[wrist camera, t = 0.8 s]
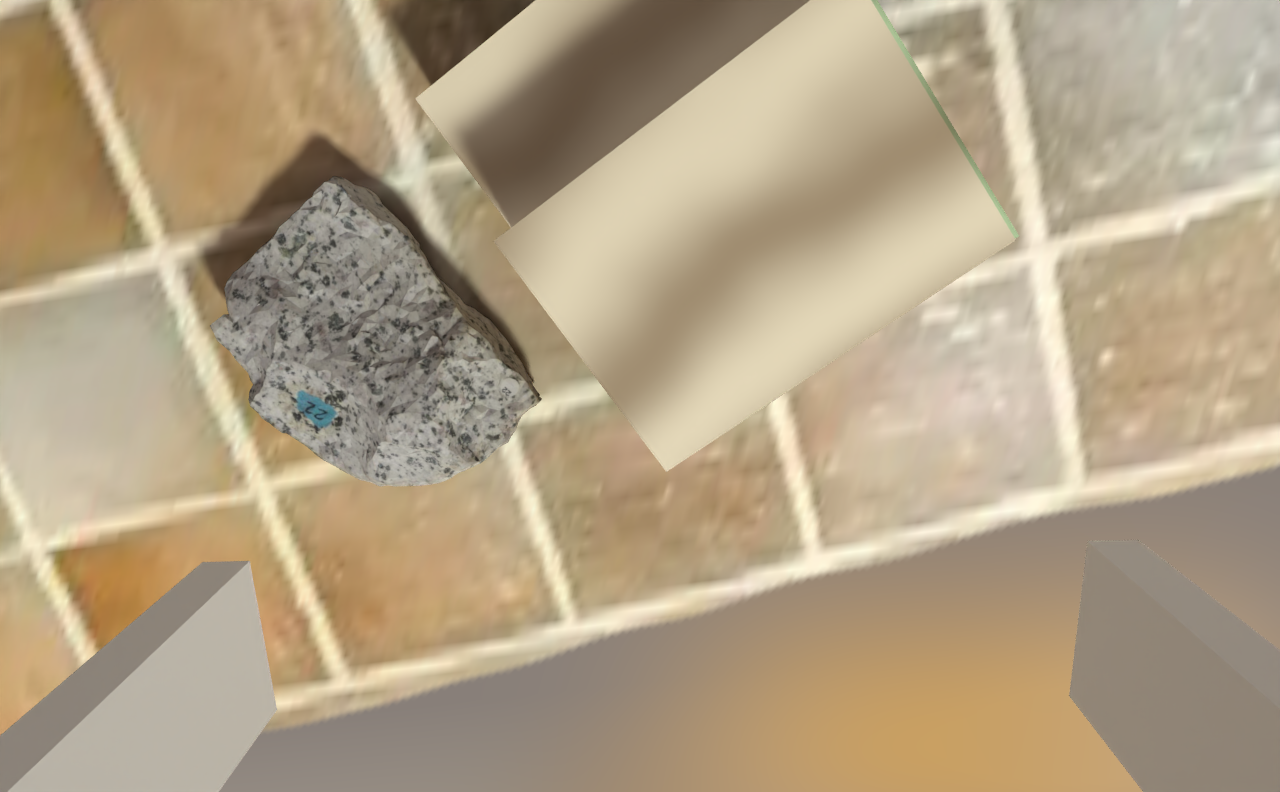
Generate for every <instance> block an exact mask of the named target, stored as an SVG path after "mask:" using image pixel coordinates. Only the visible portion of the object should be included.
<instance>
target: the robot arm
mask: <svg viewBox="0 0 1280 792" xmlns="http://www.w3.org/2000/svg"><path fill="white" fill-rule="evenodd" d="M1069 696H1070V698H1071V699H1072V700H1073V701H1074V703H1075V704H1076V705H1077V707H1078V708H1079V709H1080V710H1081V712H1082V713H1083V714H1084V716H1085V717H1086V718H1087V720H1088V721H1089V722H1090V723H1091V724H1092V726H1093V727H1094V729H1095V730H1096V731H1097V733H1098V734H1099V735H1100V736H1101V738H1102V739H1103V740H1104V741H1105V743H1106V744H1107V745H1108V747H1109V748H1110V749H1111V751H1112V752H1113V753H1114V755H1115V756H1116V757H1117V758H1118V760H1119V761H1120V762H1121V764H1122V765H1123V766H1124V767H1125V769H1126V770H1127V771H1128V773H1129V774H1130V775H1131V776H1132V778H1133V779H1134V780H1135V782H1136V783H1137V784H1138V786H1139V787H1140V788H1141V789H1142V791H1143V792H1280V650H1279V649H1278V648H1276V647H1275V646H1274V645H1273V644H1271V643H1270V642H1269V641H1268V640H1266V639H1265V638H1264V637H1262V636H1261V635H1260V634H1259V633H1257V632H1256V631H1255V630H1253V629H1252V628H1251V627H1250V626H1248V625H1247V624H1246V623H1244V622H1243V621H1242V620H1241V619H1239V618H1238V617H1237V616H1235V615H1234V614H1233V613H1231V612H1230V611H1229V610H1228V609H1226V608H1225V607H1224V606H1223V605H1221V604H1220V603H1219V602H1217V601H1216V600H1215V599H1213V598H1212V597H1211V596H1210V595H1209V594H1207V593H1206V592H1205V591H1203V590H1202V589H1201V588H1200V587H1198V586H1197V585H1196V584H1194V583H1193V582H1191V580H1189V579H1188V578H1186V577H1185V576H1184V575H1183V574H1182V573H1180V572H1179V571H1178V570H1176V569H1175V568H1174V567H1173V566H1171V565H1170V564H1169V563H1167V562H1166V561H1165V560H1163V559H1162V558H1161V557H1160V556H1158V555H1157V554H1156V553H1155V552H1153V551H1152V550H1151V549H1149V548H1148V547H1147V546H1146V545H1144V544H1143V543H1142V542H1140V541H1139V540H1115V541H1114V540H1113V541H1088V542H1087V550H1086V560H1085V567H1084V576H1083V584H1082V593H1081V602H1080V610H1079V618H1078V627H1077V635H1076V644H1075V652H1074V661H1073V669H1072V679H1071V687H1070V695H1069ZM276 710H277V708H276V702H275V697H274V691H273V686H272V680H271V675H270V670H269V664H268V659H267V653H266V648H265V642H264V637H263V631H262V626H261V620H260V615H259V610H258V604H257V599H256V593H255V588H254V582H253V577H252V571H251V566H250V561H233V562H202V563H201V564H200V565H199V566H198V567H196V568H195V569H194V570H193V571H192V572H191V573H189V574H188V575H187V576H186V577H185V578H184V579H182V580H181V581H180V582H179V583H178V584H177V585H175V586H174V587H173V588H172V589H171V590H170V591H168V592H167V593H166V594H165V595H164V596H163V597H161V598H160V599H159V600H158V601H157V602H156V603H154V604H153V605H152V606H151V607H150V608H149V609H147V610H146V611H145V612H144V613H143V614H142V615H140V616H139V617H138V618H137V619H136V620H135V621H133V622H132V623H131V624H130V625H129V626H128V627H126V628H125V629H124V630H123V631H122V632H121V633H119V634H118V635H117V636H116V637H115V638H114V639H112V640H111V641H110V642H109V643H108V644H107V645H105V646H104V647H103V648H102V649H101V650H100V651H98V652H97V653H96V654H95V655H94V656H93V657H91V658H90V659H89V660H88V661H87V662H86V663H84V664H83V665H82V666H81V667H80V668H79V669H77V670H76V671H75V672H74V673H73V674H72V675H70V676H69V677H68V678H67V679H66V680H65V681H63V682H62V683H61V684H60V685H59V686H58V687H56V688H55V689H54V690H53V691H52V692H50V693H49V694H48V695H47V696H46V697H45V698H43V699H42V700H41V701H40V702H39V703H38V704H36V705H35V706H34V707H33V708H32V709H31V710H29V711H28V712H27V713H26V714H25V715H24V716H22V717H21V718H20V719H19V720H18V721H17V722H15V723H14V724H13V725H12V726H11V727H10V728H8V729H7V730H6V731H5V732H4V733H3V734H1V735H0V792H219V790H220V789H221V788H222V786H223V785H224V783H225V782H226V781H227V779H228V778H229V776H230V775H231V774H232V772H233V771H234V769H235V768H236V767H237V765H238V764H239V762H240V761H241V760H242V758H243V757H244V755H245V754H246V752H247V751H248V749H249V748H250V747H251V745H252V744H253V743H254V741H255V740H256V738H257V737H258V736H259V734H260V733H261V731H262V730H263V729H264V727H265V726H266V724H267V723H268V722H269V720H270V719H271V717H272V716H273V715H274V713H275V712H276Z"/></svg>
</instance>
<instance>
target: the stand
mask: <svg viewBox="0 0 1280 792" xmlns="http://www.w3.org/2000/svg"><path fill="white" fill-rule="evenodd" d="M416 100H417V102H418V103H419V104H420V106H421V107H422V108H423V110H424V111H425V112H426V114H427V115H428V116H429V118H430V119H431V120H432V122H433V123H434V124H435V126H436V127H437V129H438V130H439V131H440V133H441V134H442V135H443V137H444V138H445V139H446V141H447V142H448V143H449V145H450V146H451V147H452V149H453V150H454V151H455V153H456V154H457V155H458V157H459V158H460V159H461V161H462V162H463V164H464V165H465V166H466V168H467V169H468V170H469V172H470V173H471V174H472V176H473V177H474V178H475V180H476V181H477V182H478V184H479V185H480V186H481V188H482V189H483V190H484V192H485V193H486V195H487V196H488V197H489V199H490V200H491V201H492V203H493V204H494V205H495V207H496V208H497V209H498V211H499V212H500V213H501V215H502V216H503V217H504V219H505V220H506V221H507V223H508V224H509V226H510V227H511V228H510V229H509V230H507V231H506V232H505V233H503V234H502V235H501V236H500V237H498V238H497V239H496V240H494V243H495V244H496V245H497V247H498V248H499V249H500V251H501V252H502V253H503V255H504V256H505V257H506V259H507V260H508V261H509V263H510V264H511V265H512V267H513V268H514V269H515V271H516V272H517V273H518V275H519V276H520V277H521V279H522V280H523V281H524V283H525V284H526V285H527V287H528V288H529V289H530V291H531V292H532V293H533V295H534V296H535V297H536V299H537V300H538V301H539V303H540V304H541V305H542V307H543V308H544V309H545V311H546V312H547V313H548V315H549V316H550V317H551V319H552V320H553V321H554V323H555V324H556V325H557V327H558V328H559V329H560V331H561V332H562V333H563V335H564V336H565V337H566V339H567V340H568V341H569V343H570V344H571V345H572V347H573V348H574V349H575V351H576V352H577V353H578V355H579V356H580V357H581V359H582V360H583V361H584V363H585V364H586V365H587V367H588V368H589V369H590V371H591V372H592V373H593V375H594V376H595V377H596V379H597V380H598V381H599V383H600V384H601V385H602V387H603V388H604V389H605V391H606V392H607V393H608V395H609V396H610V397H611V399H612V400H613V401H614V403H615V404H616V405H617V407H618V408H619V409H620V411H621V412H622V413H623V415H624V416H625V417H626V419H627V420H628V421H629V423H630V424H631V425H632V427H633V428H634V429H635V431H636V432H637V433H638V435H639V436H640V437H641V439H642V440H643V441H644V443H645V444H646V445H647V447H648V448H649V449H650V451H651V452H652V453H653V455H654V456H655V457H656V459H657V460H658V461H659V463H660V464H661V465H662V467H663V468H664V469H665V471H666V472H667V471H668V470H670V469H671V468H673V467H674V466H676V465H677V464H679V463H680V462H682V461H683V460H685V459H686V458H688V457H690V456H691V455H693V454H694V453H696V452H697V451H699V450H700V449H702V448H703V447H705V446H706V445H708V444H709V443H711V442H712V441H714V440H715V439H717V438H718V437H720V436H721V435H723V434H724V433H726V432H727V431H729V430H730V429H732V428H733V427H735V426H736V425H738V424H739V423H741V422H742V421H744V420H745V419H747V418H748V417H750V416H751V415H753V414H754V413H756V412H757V411H759V410H760V409H762V408H763V407H765V406H766V405H768V404H769V403H771V402H772V401H774V400H775V399H777V398H778V397H780V396H781V395H783V394H784V393H786V392H788V391H789V390H791V389H792V388H794V387H795V386H797V385H798V384H800V383H801V382H803V381H804V380H806V379H807V378H809V377H810V376H812V375H813V374H815V373H816V372H818V371H819V370H821V369H822V368H824V367H825V366H827V365H828V364H830V363H831V362H833V361H834V360H836V359H837V358H839V357H840V356H842V355H843V354H845V353H846V352H848V351H849V350H851V349H852V348H854V347H855V346H857V345H858V344H860V343H861V342H863V341H864V340H866V339H867V338H869V337H870V336H872V335H873V334H875V333H876V332H878V331H879V330H881V329H883V328H884V327H886V326H887V325H889V324H890V323H892V322H893V321H895V320H896V319H898V318H899V317H901V316H902V315H904V314H905V313H907V312H908V311H910V310H911V309H913V308H914V307H916V306H917V305H919V304H920V303H922V302H923V301H925V300H926V299H928V298H929V297H931V296H932V295H934V294H935V293H937V292H938V291H940V290H941V289H943V288H944V287H946V286H947V285H949V284H950V283H952V282H953V281H955V280H956V279H958V278H959V277H961V276H962V275H964V274H965V273H967V272H968V271H970V270H971V269H973V268H974V267H976V266H977V265H979V264H981V263H982V262H984V261H985V260H987V259H988V258H990V257H991V256H993V255H994V254H996V253H997V252H999V251H1000V250H1002V249H1003V248H1005V247H1006V246H1008V245H1009V244H1011V243H1012V242H1014V241H1015V240H1016V239H1015V238H1017V237H1018V236H1019V235H1018V234H1017V232H1016V230H1015V229H1014V227H1013V225H1012V224H1011V222H1010V220H1009V219H1008V217H1007V215H1006V214H1005V212H1004V210H1003V209H1002V207H1001V205H1000V204H999V202H998V200H997V199H996V197H995V195H994V194H993V192H992V190H991V189H990V187H989V185H988V184H987V182H986V180H985V179H984V177H983V175H982V174H981V172H980V170H979V169H978V167H977V165H976V164H975V162H974V160H973V159H972V157H971V155H970V154H969V152H968V150H967V149H966V147H965V146H964V144H963V142H962V141H961V139H960V137H959V136H958V134H957V132H956V131H955V129H954V127H953V126H952V124H951V122H950V121H949V119H948V117H947V116H946V114H945V112H944V111H943V109H942V107H941V106H940V104H939V102H938V101H937V99H936V97H935V96H934V94H933V92H932V91H931V89H930V87H929V86H928V84H927V82H926V81H925V79H924V77H923V76H922V74H921V72H920V71H919V69H918V67H917V66H916V64H915V62H914V61H913V59H912V57H911V56H910V54H909V52H908V51H907V49H906V48H905V46H904V44H903V43H902V41H901V39H900V38H899V36H898V34H897V33H896V31H895V29H894V28H893V26H892V24H891V23H890V21H889V19H888V18H887V16H886V14H885V13H884V11H883V9H882V8H881V6H880V4H879V3H878V1H877V0H535V1H534V2H533V3H532V4H530V5H529V6H528V7H527V8H525V9H524V10H523V11H522V12H521V13H519V14H518V15H517V16H516V17H514V18H513V19H512V20H511V21H510V22H508V23H507V24H506V25H505V26H503V27H502V28H501V29H500V30H499V31H497V32H496V33H495V34H494V35H492V36H491V37H490V38H489V39H488V40H486V41H485V42H484V43H483V44H481V45H480V46H479V47H478V48H477V49H475V50H474V51H473V52H472V53H470V54H469V55H468V56H467V57H466V58H464V59H463V60H462V61H461V62H459V63H458V64H457V65H456V66H455V67H453V68H452V69H451V70H450V71H448V72H447V73H446V74H445V75H444V76H442V77H441V78H440V79H439V80H437V81H436V82H435V83H434V84H433V85H431V86H430V87H429V88H428V89H426V90H425V91H424V92H423V93H422V94H420V95H419V96H418V97H417V98H416Z"/></svg>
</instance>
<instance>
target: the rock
mask: <svg viewBox="0 0 1280 792" xmlns="http://www.w3.org/2000/svg"><path fill="white" fill-rule="evenodd" d="M225 296H226V303H227V308H228V312H229V315H223V316H221V317H220V318H219V319H217V320H216V321H215V322H214V323H212V324H211V325H210V327H211V329H212V331H213V332H214V334H215V337H216V339H217V341H218V342H220V343H221V344H222V345H223V346H224V347H226V348H227V349H228V350H229V351H230V352H231V354H232V355H233V356H234V358H235V359H236V360H237V361H238V362H239V363H240V365H241V366H242V367H243V368H244V369H245V370H246V371H247V372H248V373H249V377H250V380H251V381H252V383H253V386H252V388H251V390H250V392H249V403H250V406H251V407H252V408H253V409H254V410H255V411H257V412H258V413H259V414H260V416H261V417H262V419H264V420H265V421H267V422H268V423H270V424H271V425H272V426H274V427H275V428H276V429H278V430H279V431H280V432H282V433H287V434H288V435H290V436H291V437H293V438H295V439H296V440H298V441H299V442H301V443H302V444H304V445H305V446H307V447H308V448H309V449H310V450H312V451H313V452H314V453H315V454H316V455H317V456H319V457H320V458H321V459H323V460H324V461H326V462H328V463H330V464H332V465H334V466H336V467H337V468H339V469H340V470H342V471H344V472H346V473H348V474H350V475H352V476H354V477H355V478H357V479H359V480H363V481H367V482H371V483H373V484H376V485H378V486H422V485H430V484H436V483H440V482H443V481H446V480H448V479H450V478H452V477H453V476H454V475H456V474H457V473H460V472H462V471H465V470H467V469H469V468H471V467H474V466H476V465H477V464H479V463H481V462H483V461H484V460H485V459H486V458H487V457H489V456H490V455H491V454H492V453H493V452H494V451H495V450H496V449H497V448H498V447H500V446H502V445H504V444H506V443H508V441H509V439H510V437H511V436H512V434H513V433H514V432H515V430H516V428H517V425H518V422H519V420H520V418H521V416H522V415H523V414H524V413H525V412H527V411H528V410H529V409H530V408H532V407H534V406H536V405H537V404H538V403H539V402H540V401H541V399H542V398H540V397H539V395H540V394H539V393H538V392H537V391H536V389H535V388H534V386H533V384H532V380H531V379H530V377H529V376H528V374H527V373H526V370H525V369H524V366H523V364H522V362H521V361H520V359H519V358H518V357H517V355H516V354H515V353H514V350H513V349H512V347H511V346H510V344H509V343H508V341H507V340H506V338H505V337H504V336H503V335H502V334H501V333H500V332H499V330H498V329H497V328H496V326H495V325H494V324H493V323H492V322H491V321H490V320H489V319H488V318H486V317H484V316H483V315H482V314H481V313H479V312H478V311H477V310H475V309H474V308H472V307H470V306H468V305H466V304H464V303H463V301H462V300H461V298H460V297H459V296H458V295H457V294H456V293H455V292H454V291H453V290H452V289H450V288H449V287H448V286H447V285H446V284H445V283H443V282H442V281H441V280H440V279H439V278H438V277H437V276H436V274H435V272H434V271H433V269H432V268H431V266H430V265H429V263H428V261H427V259H426V257H425V255H424V253H423V252H422V251H421V250H420V244H419V243H418V242H417V241H416V240H415V238H414V237H413V236H412V234H411V233H410V231H409V230H408V228H407V227H406V226H405V225H403V224H402V223H401V222H400V221H399V220H398V219H397V218H396V217H395V216H394V215H393V214H392V213H391V212H390V211H389V210H388V209H387V208H386V207H385V206H384V205H383V204H382V203H381V201H380V199H379V197H378V196H377V195H376V194H375V193H374V192H372V191H371V190H370V189H368V188H366V187H362V186H355V185H354V184H352V183H351V182H349V181H348V180H347V179H344V178H342V177H337V176H333V177H332V178H331V179H330V180H329V181H327V182H324V183H323V184H322V185H321V186H320V187H319V188H318V189H317V190H316V191H315V192H314V194H313V196H312V197H311V198H310V199H308V200H307V201H306V202H305V203H304V204H303V205H302V207H301V208H300V209H299V210H297V211H296V212H295V213H294V214H293V215H292V216H291V217H290V218H289V219H288V220H287V221H286V222H285V223H283V224H282V225H281V226H280V227H279V228H278V230H277V232H276V234H275V235H274V236H273V237H272V238H271V239H270V240H269V241H268V242H267V243H266V244H264V245H263V246H262V247H261V248H260V249H259V250H258V251H257V252H256V253H255V254H254V255H253V256H252V257H251V258H250V259H249V260H248V261H247V262H246V263H245V264H244V265H243V266H242V267H240V268H239V269H238V270H236V271H235V272H234V273H233V274H232V275H231V277H230V278H229V280H228V281H227V284H226V286H225Z"/></svg>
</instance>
